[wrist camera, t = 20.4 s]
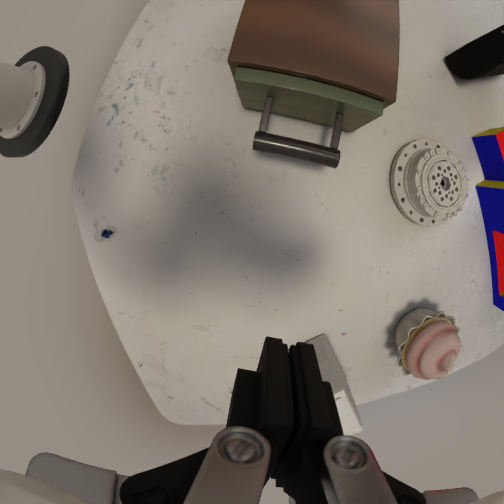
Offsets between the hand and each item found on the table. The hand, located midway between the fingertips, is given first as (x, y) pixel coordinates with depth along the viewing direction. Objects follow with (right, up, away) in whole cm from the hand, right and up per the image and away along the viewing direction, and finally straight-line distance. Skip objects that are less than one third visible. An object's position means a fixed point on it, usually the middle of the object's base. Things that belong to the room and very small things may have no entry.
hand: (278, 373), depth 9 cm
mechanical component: (+19, +12, +18) cm, 29 cm away
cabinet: (+5, +26, +15) cm, 30 cm away
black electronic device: (+30, +30, +13) cm, 44 cm away
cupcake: (+20, -6, +22) cm, 31 cm away
